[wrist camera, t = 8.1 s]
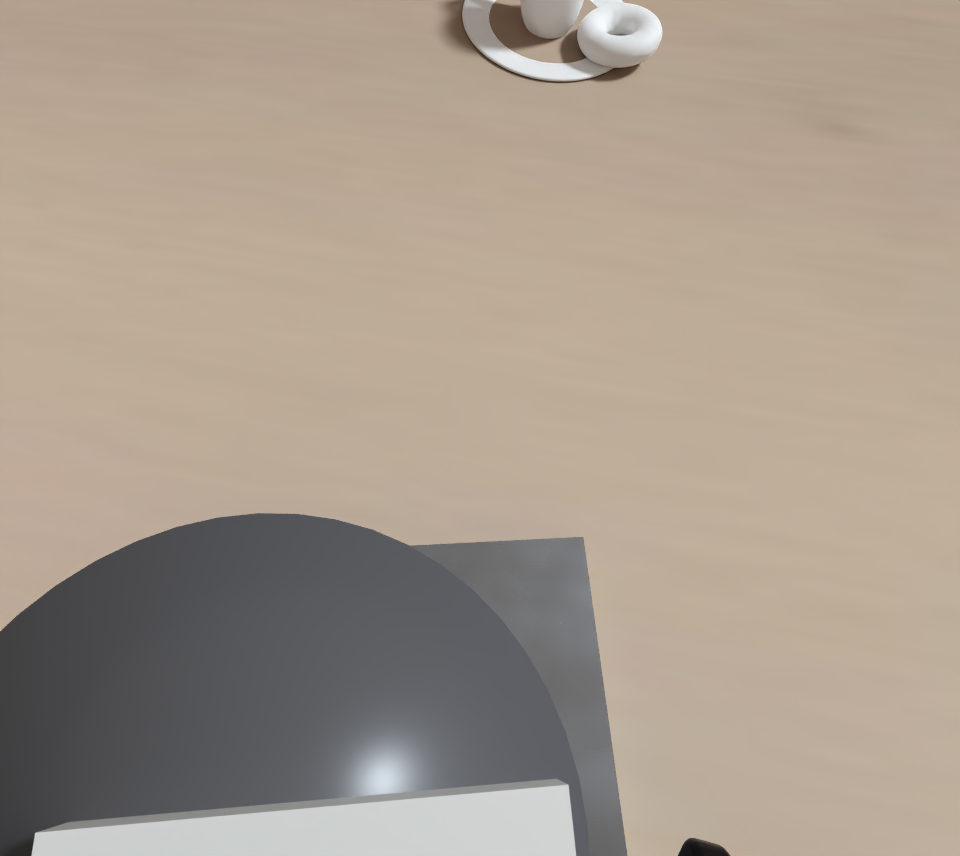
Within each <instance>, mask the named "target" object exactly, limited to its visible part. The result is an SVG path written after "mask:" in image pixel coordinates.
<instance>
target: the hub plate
mask: <svg viewBox="0 0 960 856" xmlns="http://www.w3.org/2000/svg"><path fill="white" fill-rule="evenodd" d="M411 547H412V548H414V549H416V550H417V551H419V552H421V553H422V554H424V555H426V556H427V557H429V558H431V559H432V560H434V561H436V562H437V563H439V564H441V565H442V566H444V567H445V568H446V569H447V570H449V571H450V572H451V573H452V574H454V575H455V576H456V577H457V578H459V579H460V580H461V581H463V582H464V583H465V584H466V585H468V586H469V587H470V588H471V589H473V590H474V591H475V592H476V593H477V594H478V595H479V597H480V598H481V599H482V600H483V601H484V602H485V603H486V604H487V605H488V606H489V607H490V608H491V609H492V610H493V611H494V612H495V613H496V614H497V615H498V616H499V617H500V618H501V619H502V621H503V622H504V623H505V625H506V626H507V627H508V629H509V630H510V631H511V633H512V634H513V635H514V637H515V638H516V639H517V641H518V642H519V643H520V645H521V646H522V647H523V649H524V650H525V651H526V653H527V654H528V656H529V658H530V660H531V661H532V663H533V665H534V667H535V668H536V670H537V672H538V674H539V675H540V677H541V679H542V681H543V682H544V684H545V686H546V687H547V689H548V691H549V694H550V696H551V698H552V701H553V703H554V705H555V708H556V710H557V713H558V715H559V717H560V720H561V722H562V724H563V727H564V729H565V731H566V735H567V738H568V741H569V745H570V748H571V752H572V755H573V759H574V762H575V765H576V769H577V772H578V776H579V780H580V786H581V791H582V797H583V803H584V809H585V815H586V820H587V826H588V839H589V856H627V850H626V843H625V836H624V828H623V821H622V814H621V807H620V799H619V792H618V785H617V778H616V771H615V763H614V756H613V749H612V742H611V734H610V727H609V720H608V713H607V706H606V698H605V691H604V684H603V677H602V670H601V662H600V655H599V648H598V641H597V633H596V626H595V619H594V612H593V605H592V597H591V590H590V583H589V576H588V568H587V561H586V554H585V547H584V540H583V537H573V538H554V539H534V540H514V541H495V542H475V543H455V544H435V545H416V546H411Z"/></svg>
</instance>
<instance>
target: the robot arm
mask: <svg viewBox="0 0 960 856" xmlns="http://www.w3.org/2000/svg"><path fill="white" fill-rule="evenodd" d="M678 856H730V855H729V853H728V852H727V851H726V850H725V849H724V848H723V847H722V846H720V845H717V844H714V843H710V842H707V841H703V840H699V839H696V838H689V839H688V840H686V841H685V843H684V844H683V846H682V848H681V850H680V852H679V854H678Z"/></svg>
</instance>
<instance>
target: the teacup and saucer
mask: <svg viewBox="0 0 960 856" xmlns="http://www.w3.org/2000/svg"><path fill="white" fill-rule="evenodd" d="M495 1H496V0H465V2H464V5H463V10H462V20H463V25H464V28H465V31H466V33H467V35H468V37H469V38H470V40H471V41H472V43H473V44H474V45H475V46H476V48H477V49H478V50H479V51H480V52H481V53H482V54H484V55H485V56H486V57H487V58H489V59H490V60H491V61H493V62H494V63H496V64H498V65H499V66H501V67H503V68H505V69H507V70H510V71H512V72H514V73H517V74H520V75H523V76H526V77H530V78H534V79H539V80H546V81H578V80H584V79H588V78H592V77H596V76H598V75H601V74H603V73H606V72H608V71H609V70H611V69H613V68H622V67H629V66H633V65H637V64H639V63H641V62H643V61H645V60H647V59H648V58H649V57H650V56H652V55H653V53H654V52H655V51H656V49H657V48H658V46H659V44H660V41H661V39H662V27H661V24H660V21H659V20H658V18H657V17H656V16H655V15H654V14H653V13H652V12H650V11H649V10H647V9H645V8H643V7H641V6H638V5H634V4H629V3H623V2H622V0H590V1H591V2H593V3H594V4H595V5H596V6H597V7H598V8H596V9H594V10H593V11H591V12H590V13H589V14H587V15H586V16H585V17H584V18H583V20H582V21H581V23H580V25H579V27H578V31H577V39H578V43H579V47H580V49H581V51H582V52H583V54H584V55H585V56H586V57H587V58H585V59H583V60H580V61H576V62H571V63H559V64H557V63H545V62H539V61H535V60H531V59H528V58H526V57H523V56H521V55H519V54H517V53H515V52H513V51H511V50H510V49H508V48H507V47H506V46H505V45H503V44H502V43H501V42H500V41H499V40H498V38H497V37H496V36H495V34H494V33H493V31H492V29H491V26H490V22H489V13H490V9H491V7H492V5H493V3H494V2H495ZM583 1H584V0H520V3H521V12H522V17H523V21H524V24H525V26H526V28H527V29H528V30H529V31H530V32H531V33H532V34H534V35H536V36H538V37H541V38H546V39H555V38H559V37H562V36H564V35H565V34H566V33H567V32H568V31H569V30H570V29H571V27H572V26H573V24H574V22H575V21H576V19H577V17H578V14H579V12H580V10H581V7H582V4H583Z"/></svg>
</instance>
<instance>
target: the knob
mask: <svg viewBox="0 0 960 856" xmlns="http://www.w3.org/2000/svg"><path fill="white" fill-rule="evenodd" d="M0 856H589V839H588V826H587V820H586V815H585V809H584V803H583V797H582V791H581V786H580V780H579V776H578V772H577V769H576V765H575V762H574V759H573V755H572V752H571V748H570V745H569V741H568V738H567V735H566V731H565V729H564V727H563V724H562V722H561V720H560V717H559V715H558V713H557V710H556V708H555V705H554V703H553V701H552V698H551V696H550V694H549V691H548V689H547V687H546V686H545V684H544V682H543V681H542V679H541V677H540V675H539V674H538V672H537V670H536V668H535V667H534V665H533V663H532V661H531V660H530V658H529V656H528V654H527V653H526V651H525V650H524V649H523V647H522V646H521V645H520V643H519V642H518V641H517V639H516V638H515V637H514V635H513V634H512V633H511V631H510V630H509V629H508V627H507V626H506V625H505V623H504V622H503V621H502V619H501V618H500V617H499V616H498V615H497V614H496V613H495V612H494V611H493V610H492V609H491V608H490V607H489V606H488V605H487V604H486V603H485V602H484V601H483V600H482V599H481V598H480V597H479V595H478V594H477V593H476V592H475V591H474V590H473V589H471V588H470V587H469V586H468V585H466V584H465V583H464V582H463V581H461V580H460V579H459V578H457V577H456V576H455V575H454V574H452V573H451V572H450V571H449V570H447V569H446V568H445V567H444V566H442V565H441V564H439V563H437V562H436V561H434V560H432V559H431V558H429V557H427V556H426V555H424V554H422V553H421V552H419V551H417V550H416V549H414V548H412V547H411V546H409V545H407V544H404V543H402V542H400V541H397V540H395V539H393V538H390V537H388V536H386V535H383V534H381V533H379V532H376V531H374V530H371V529H368V528H364V527H360V526H357V525H353V524H350V523H346V522H342V521H339V520H335V519H328V518H321V517H314V516H307V515H300V514H260V513H258V514H248V515H239V516H229V517H220V518H214V519H210V520H206V521H201V522H197V523H193V524H188V525H184V526H179V527H176V528H173V529H170V530H167V531H164V532H162V533H159V534H156V535H153V536H150V537H147V538H145V539H142V540H139V541H136V542H134V543H132V544H130V545H128V546H126V547H124V548H122V549H119V550H117V551H115V552H113V553H111V554H109V555H107V556H105V557H103V558H101V559H99V560H97V561H95V562H93V563H92V564H90V565H88V566H87V567H85V568H84V569H82V570H80V571H79V572H77V573H75V574H74V575H72V576H71V577H69V578H67V579H66V580H64V581H63V582H61V583H59V584H58V585H56V586H55V587H53V588H52V589H51V590H50V591H48V592H47V593H46V594H44V595H43V596H42V597H41V598H39V599H38V600H37V601H35V602H34V603H33V604H32V605H30V606H29V607H28V608H26V609H25V610H24V611H23V612H21V613H20V614H19V615H17V616H16V617H15V618H14V619H13V620H12V621H11V622H10V623H9V624H8V625H7V626H6V627H5V628H4V629H3V630H2V631H0Z"/></svg>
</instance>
